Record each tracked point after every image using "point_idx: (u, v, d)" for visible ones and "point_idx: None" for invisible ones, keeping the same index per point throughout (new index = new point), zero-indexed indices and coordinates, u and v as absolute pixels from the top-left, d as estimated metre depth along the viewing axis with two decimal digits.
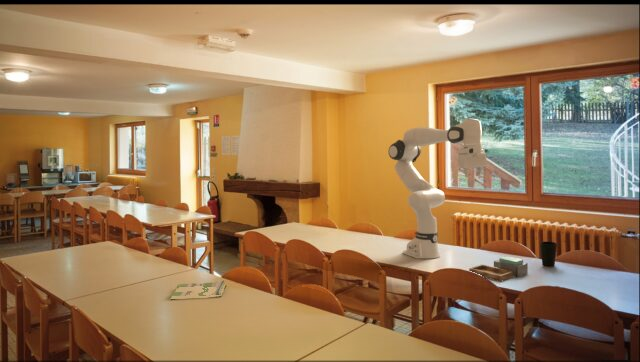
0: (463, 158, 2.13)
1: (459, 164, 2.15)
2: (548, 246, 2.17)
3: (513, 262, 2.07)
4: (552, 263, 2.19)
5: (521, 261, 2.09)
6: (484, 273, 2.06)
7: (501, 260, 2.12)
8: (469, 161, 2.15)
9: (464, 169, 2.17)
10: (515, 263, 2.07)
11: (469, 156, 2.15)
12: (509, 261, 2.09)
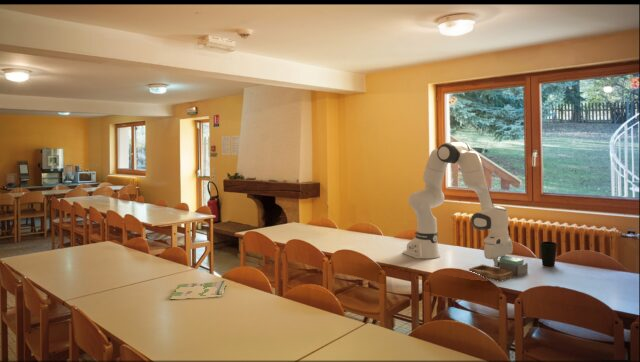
0: (490, 249, 2.10)
1: (486, 254, 2.11)
2: (548, 246, 2.17)
3: (513, 262, 2.07)
4: (552, 263, 2.19)
5: (521, 261, 2.08)
6: (484, 273, 2.06)
7: (501, 260, 2.12)
8: (495, 252, 2.12)
9: (494, 258, 2.15)
10: (515, 263, 2.06)
11: (496, 246, 2.11)
12: (509, 261, 2.09)
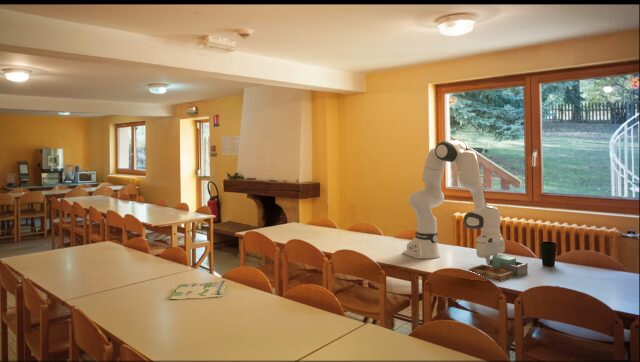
0: (482, 248, 2.13)
1: (478, 253, 2.15)
2: (548, 246, 2.17)
3: (506, 260, 2.10)
4: (552, 263, 2.19)
5: (514, 259, 2.12)
6: (484, 273, 2.06)
7: (494, 258, 2.15)
8: (487, 250, 2.15)
9: (486, 256, 2.18)
10: (508, 261, 2.09)
11: (488, 245, 2.15)
12: (502, 259, 2.12)
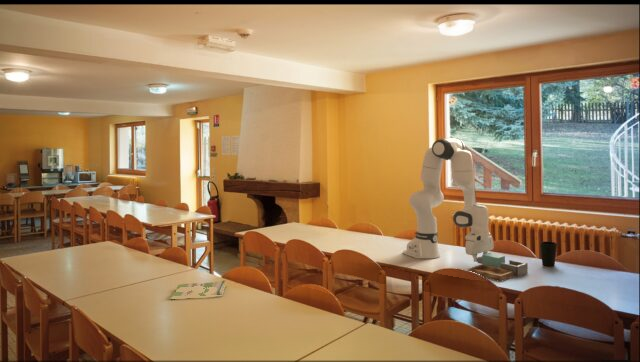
0: (471, 245, 2.19)
1: (467, 251, 2.20)
2: (548, 246, 2.17)
3: (495, 258, 2.15)
4: (552, 263, 2.19)
5: (503, 257, 2.16)
6: (484, 273, 2.06)
7: (484, 256, 2.20)
8: (476, 248, 2.21)
9: (473, 254, 2.23)
10: (497, 259, 2.14)
11: (477, 243, 2.20)
12: (491, 257, 2.17)
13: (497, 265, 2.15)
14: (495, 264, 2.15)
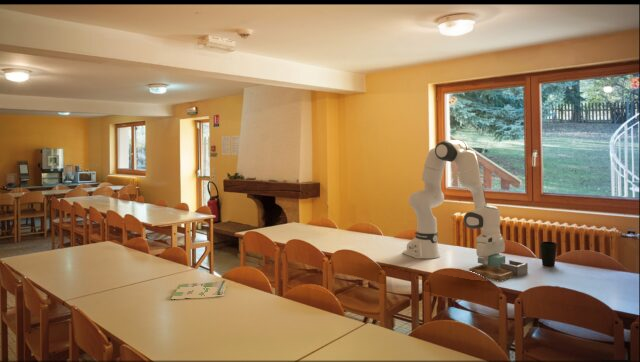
0: (482, 247, 2.13)
1: (478, 253, 2.15)
2: (548, 246, 2.17)
3: (495, 258, 2.15)
4: (552, 263, 2.19)
5: (503, 257, 2.16)
6: (484, 273, 2.06)
7: None
8: (487, 250, 2.15)
9: (484, 257, 2.17)
10: (497, 259, 2.14)
11: (488, 245, 2.15)
12: (492, 257, 2.17)
13: (497, 265, 2.14)
14: (496, 264, 2.15)
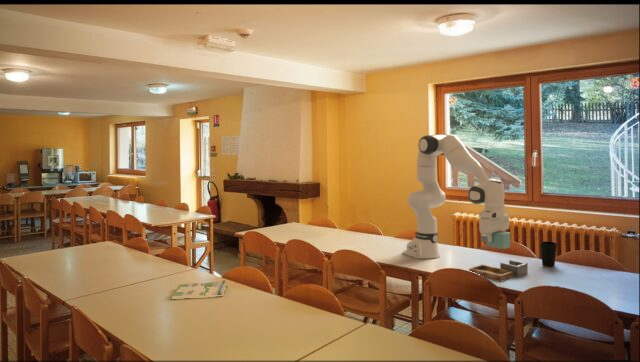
0: (485, 223, 1.99)
1: (481, 229, 2.00)
2: (548, 246, 2.17)
3: (500, 235, 2.00)
4: (552, 263, 2.19)
5: (508, 234, 2.02)
6: (484, 273, 2.06)
7: None
8: (491, 226, 2.01)
9: (487, 234, 2.03)
10: (502, 236, 1.99)
11: (492, 221, 2.00)
12: (496, 234, 2.02)
13: (502, 242, 2.00)
14: (500, 241, 2.00)
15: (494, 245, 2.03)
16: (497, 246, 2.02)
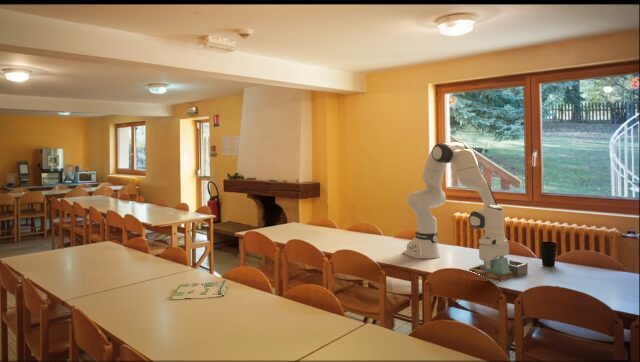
0: (485, 250, 2.00)
1: (481, 256, 2.01)
2: (548, 246, 2.17)
3: (497, 261, 2.02)
4: (552, 263, 2.19)
5: (505, 259, 2.04)
6: (484, 273, 2.06)
7: None
8: (491, 253, 2.02)
9: (486, 260, 2.03)
10: (499, 261, 2.01)
11: (491, 247, 2.01)
12: (493, 261, 2.04)
13: (500, 268, 2.01)
14: (499, 267, 2.02)
15: (494, 272, 2.04)
16: (497, 273, 2.03)
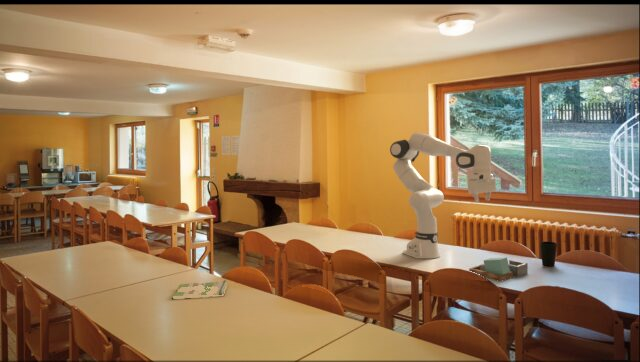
0: (473, 184, 2.18)
1: (469, 190, 2.20)
2: (548, 246, 2.17)
3: (497, 261, 2.02)
4: (552, 263, 2.19)
5: (505, 259, 2.04)
6: (484, 273, 2.06)
7: (485, 262, 2.07)
8: (479, 187, 2.20)
9: (474, 194, 2.22)
10: (499, 261, 2.01)
11: (479, 182, 2.20)
12: (493, 261, 2.04)
13: (500, 268, 2.01)
14: (499, 267, 2.02)
15: (494, 272, 2.04)
16: (497, 273, 2.03)
